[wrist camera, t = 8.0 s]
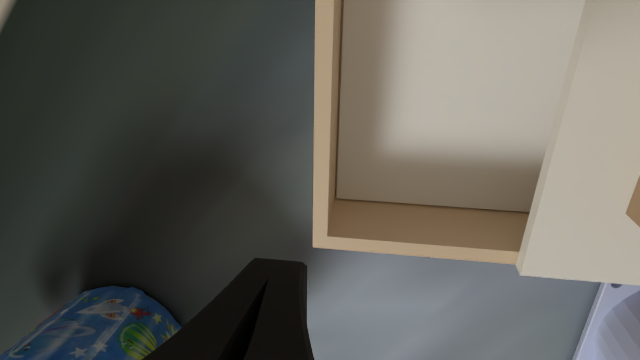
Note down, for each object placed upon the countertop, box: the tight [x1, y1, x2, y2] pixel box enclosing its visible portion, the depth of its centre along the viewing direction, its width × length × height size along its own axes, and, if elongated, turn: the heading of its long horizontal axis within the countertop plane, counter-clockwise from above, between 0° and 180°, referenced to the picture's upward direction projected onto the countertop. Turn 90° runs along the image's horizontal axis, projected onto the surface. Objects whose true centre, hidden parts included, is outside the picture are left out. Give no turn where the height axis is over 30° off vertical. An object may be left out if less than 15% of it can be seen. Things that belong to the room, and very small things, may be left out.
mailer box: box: [313, 0, 585, 264], centre depth 16 cm, size 16×12×4 cm
